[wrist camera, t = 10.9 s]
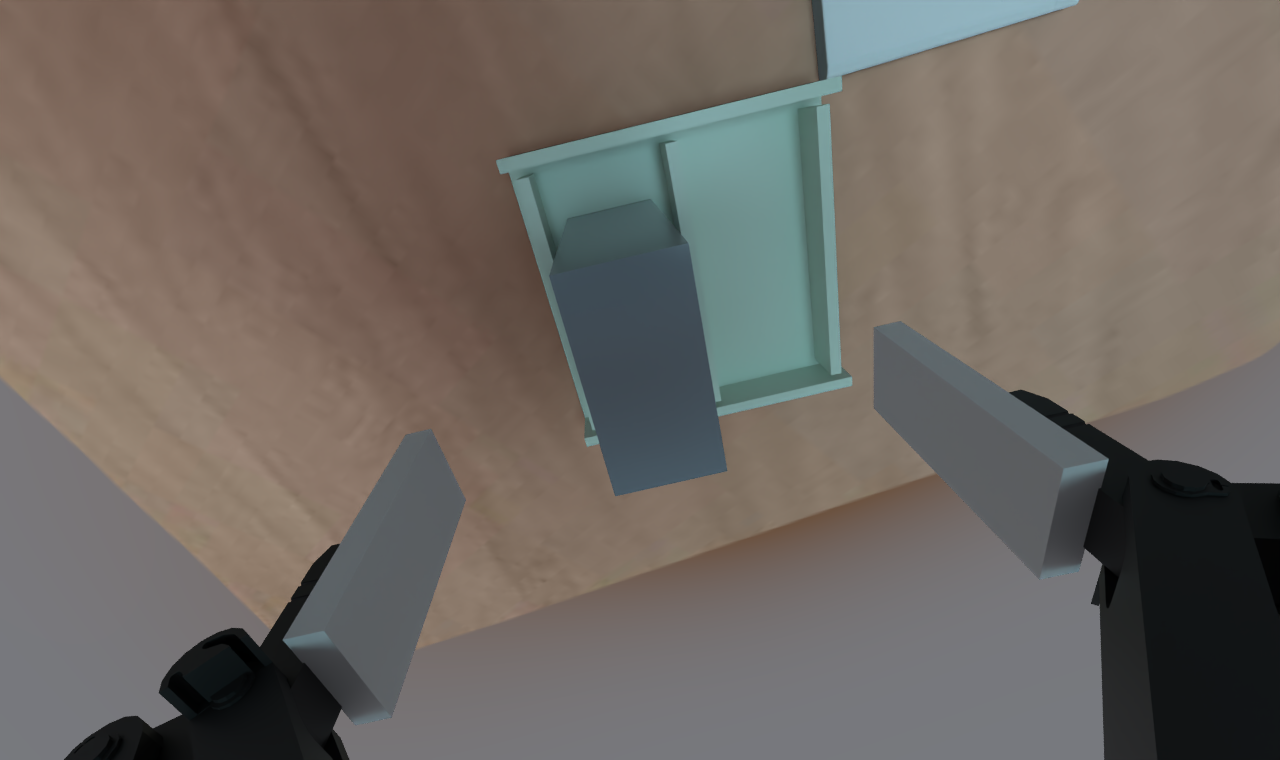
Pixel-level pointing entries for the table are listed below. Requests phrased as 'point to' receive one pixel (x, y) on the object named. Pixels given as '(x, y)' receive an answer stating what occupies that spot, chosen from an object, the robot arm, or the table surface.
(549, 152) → the green divided tray
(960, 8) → the external hard drive
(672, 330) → the blue-grey rectangular block
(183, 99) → the table surface
